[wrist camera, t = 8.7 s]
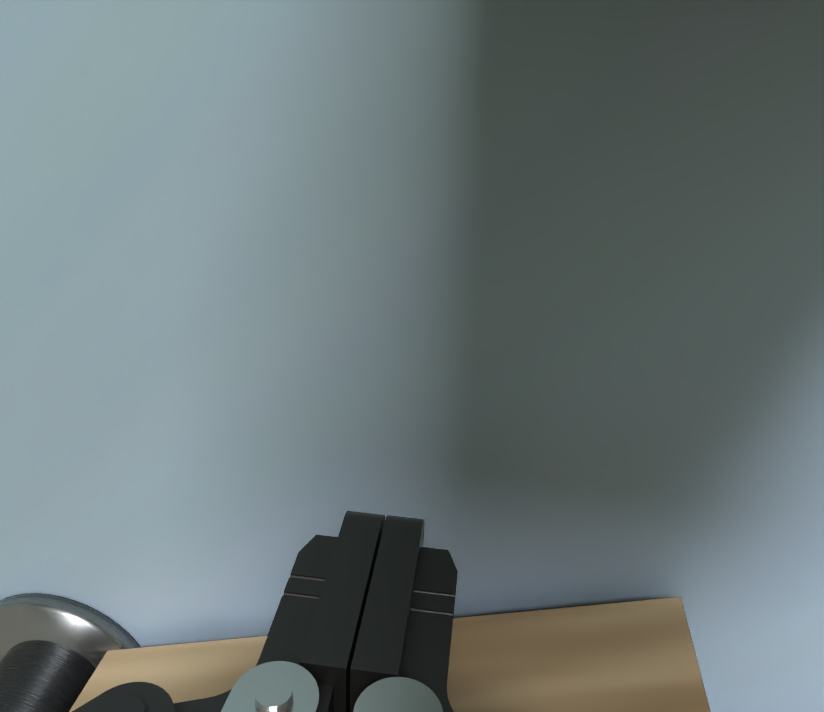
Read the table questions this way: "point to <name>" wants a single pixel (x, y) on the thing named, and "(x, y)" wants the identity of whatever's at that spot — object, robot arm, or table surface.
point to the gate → (485, 662)
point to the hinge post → (51, 650)
